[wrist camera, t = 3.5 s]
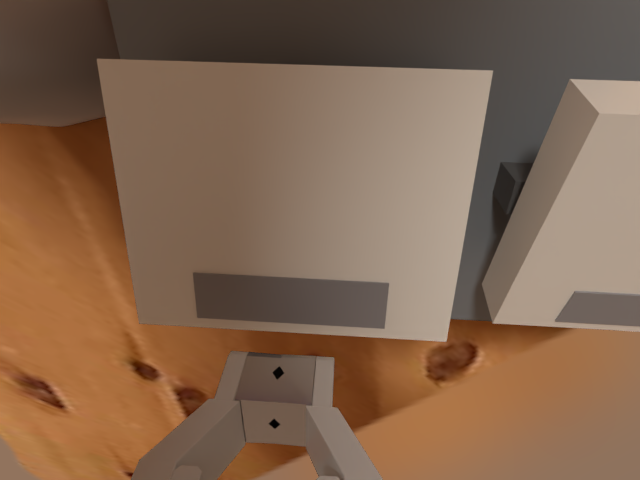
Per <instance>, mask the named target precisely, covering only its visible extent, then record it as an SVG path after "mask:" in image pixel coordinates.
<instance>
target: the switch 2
mask: <svg viewBox="0 0 640 480" xmlns="http://www.w3.org/2000/svg"><path fill="white" fill-rule="evenodd" d="M482 287H483V290H484V294H485V298H486V301H487V305H488V308H489V312H490V316H491V319H492V323H495V324H512V325H530V326H547V327H565V328H583V329H600V330H618V331H619V330H620V331H636V332H640V81H616V80H583V79H570V80H569V82H568V84H567V87H566V89H565V91H564V94H563V96H562V98H561V101H560V103H559V105H558V108H557V110H556V112H555V115H554V117H553V119H552V122H551V124H550V126H549V129H548V131H547V133H546V136H545V138H544V140H543V143H542V145H541V147H540V150H539V152H538V154H537V157H536V159H535V161H534V164H533V166H532V168H531V171H530V173H529V175H528V178H527V180H526V182H525V185H524V187H523V189H522V192H521V194H520V196H519V199H518V201H517V203H516V206H515V208H514V210H513V213H512V215H511V217H510V220H509V222H508V224H507V227H506V229H505V231H504V234H503V236H502V238H501V241H500V243H499V245H498V248H497V250H496V252H495V255H494V257H493V259H492V262H491V264H490V266H489V269H488V271H487V273H486V276H485V278H484V280H483V283H482Z"/></svg>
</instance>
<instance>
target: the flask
mask: <svg viewBox="0 0 640 480" xmlns="http://www.w3.org/2000/svg"><path fill="white" fill-rule="evenodd" d="M97 59H120V55H119V51H118V47H117V42H116V38H115V34H114V29H113V25H112V21H111V16H110V12H109V8H108V3H107V0H0V123H6V124H26V125H39V126H52V127H64V126H69V125H73V124H77V123H81V122H86V121H90V120H94V119H98V118H103V117H106V115H105V109H104V102H103V96H102V90H101V84H100V77H99V71H98V65H97Z"/></svg>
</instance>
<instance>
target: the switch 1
mask: <svg viewBox="0 0 640 480" xmlns="http://www.w3.org/2000/svg"><path fill="white" fill-rule="evenodd" d="M97 65H98V71H99V77H100V84H101V90H102V96H103V102H104V109H105V115H106V121H107V127H108V133H109V140H110V146H111V152H112V158H113V164H114V171H115V177H116V183H117V189H118V196H119V202H120V208H121V214H122V220H123V227H124V233H125V239H126V245H127V251H128V258H129V264H130V270H131V276H132V282H133V289H134V295H135V301H136V307H137V314H138V320H139V324H154V325H171V326H188V327H205V328H222V329H238V330H255V331H272V332H289V333H306V334H323V335H340V336H357V337H374V338H391V339H408V340H425V341H441V342H446V341H447V335H448V330H449V324H450V318H451V312H452V306H453V301H454V295H455V289H456V283H457V278H458V272H459V266H460V260H461V254H462V249H463V243H464V237H465V231H466V225H467V220H468V214H469V208H470V202H471V196H472V191H473V185H474V179H475V173H476V167H477V162H478V156H479V150H480V144H481V138H482V133H483V127H484V121H485V115H486V109H487V104H488V98H489V92H490V86H491V80H492V75H493V71H491V70H458V69H425V68H392V67H359V66H325V65H292V64H259V63H226V62H193V61H159V60H126V59H97Z"/></svg>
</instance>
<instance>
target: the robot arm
mask: <svg viewBox="0 0 640 480" xmlns="http://www.w3.org/2000/svg"><path fill="white" fill-rule="evenodd" d="M333 382H334V357H319V356H317V358H316V356H305V355H285V354H283V355H277V354H266V353H255V352H241V351H231V352H230V354H229V355H228V358H227V361H226V364H225V367H224V370H223V373H222V376H221V379H220V382H219V385H218V388H217V391H216V395H215V398H214V399H208V400H207V401H206V402H205V403H204V404H202V405H201V406H200V407H199V408H198V409H197V410H196V411H194V412H193V413H192V414H191V415H190V416H189V417H188V418H187V419H185V420H184V421H183V422H182V423H181V424H180V425H179V426H177V427H176V428H175V429H174V430H173V431H172V432H171V433H170V434H168V435H167V436H166V437H165V438H164V439H163V440H162V441H160V442H159V443H158V444H157V445H156V446H155V447H154V448H152V449H151V450H150V451H149V452H148V453H147V454H146V455H145V456H143V457H142V458H141V459H140V460H139V462H138V464H137V467H136V469H135V471H134V473H133V476H132V478H131V480H217V479H218V477H219V476H220V475H221V474H222V473H223V471H224V470H225V469H226V468H227V466H228V465H229V464H230V463H231V461H232V460H233V459H234V458H235V457H236V455H237V454H238V453H239V452H240V450H241V449H242V448H243V447H244V446H245V442H249V443H272V444H284V445H294V446H304V447H306V450H307V452H308V454H309V456H310V458H311V461H312V463H313V465H314V467H315V469H316V472H317V474H318V476H319V477H318V478H317V479H316V480H383V479H382V477H381V476H380V474H379V472H378V471H377V469H376V468H375V466H374V464H373V463H372V461H371V460H370V458H369V457H368V455H367V453H366V452H365V450H364V449H363V447H362V446H361V444H360V442H359V441H358V439H357V438H356V436H355V435H354V433H353V431H352V430H351V428H350V427H349V425H348V423H347V422H346V420H345V419H344V417H343V415H342V414H341V412H340V411H339V409H338V408H336V407H332V403H333Z"/></svg>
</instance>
